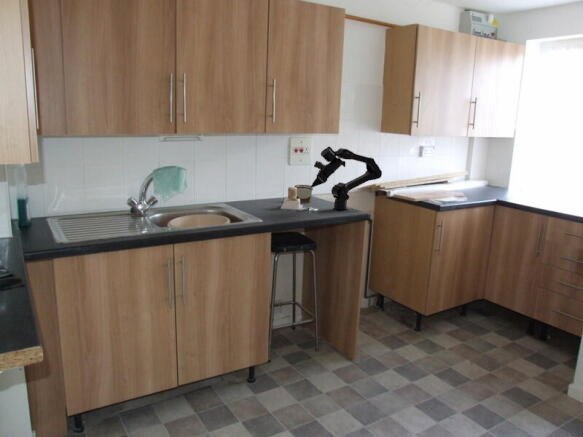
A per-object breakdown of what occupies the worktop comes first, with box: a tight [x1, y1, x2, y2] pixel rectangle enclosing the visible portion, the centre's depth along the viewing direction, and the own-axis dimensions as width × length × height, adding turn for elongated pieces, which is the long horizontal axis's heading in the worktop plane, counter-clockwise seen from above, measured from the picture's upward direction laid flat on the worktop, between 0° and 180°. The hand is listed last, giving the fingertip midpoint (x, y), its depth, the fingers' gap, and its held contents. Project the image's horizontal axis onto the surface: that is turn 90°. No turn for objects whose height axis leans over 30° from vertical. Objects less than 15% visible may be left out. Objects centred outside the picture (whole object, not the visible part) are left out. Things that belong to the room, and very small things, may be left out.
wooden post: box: [287, 186, 297, 201], centre depth 278 cm, size 5×5×11 cm
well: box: [280, 197, 304, 211], centre depth 279 cm, size 12×12×4 cm
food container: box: [293, 184, 314, 204], centre depth 298 cm, size 12×6×10 cm, turn 66°
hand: (312, 185), depth 273 cm, fingers open, 9 cm apart
